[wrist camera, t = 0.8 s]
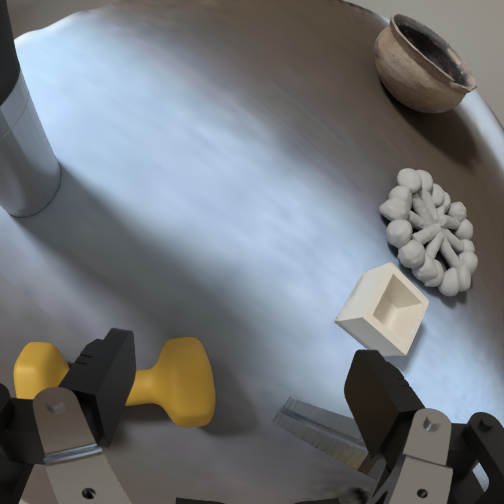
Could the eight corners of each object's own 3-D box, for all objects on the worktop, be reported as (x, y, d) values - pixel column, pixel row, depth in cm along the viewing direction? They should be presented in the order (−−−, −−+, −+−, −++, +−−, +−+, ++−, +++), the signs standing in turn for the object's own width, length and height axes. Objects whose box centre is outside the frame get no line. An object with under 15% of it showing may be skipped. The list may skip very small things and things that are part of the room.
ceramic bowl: (398, 134, 52) (450, 89, 38) (337, 53, 54) (372, 3, 40) (447, 124, 60) (488, 91, 46) (396, 56, 62) (429, 20, 48)
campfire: (389, 309, 40) (419, 302, 35) (360, 171, 46) (382, 152, 40) (470, 292, 47) (494, 285, 42) (443, 186, 53) (464, 173, 47)
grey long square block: (272, 421, 32) (367, 475, 15) (290, 397, 33) (395, 430, 17) (295, 434, 32) (396, 488, 16) (311, 411, 34) (420, 447, 17)
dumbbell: (201, 335, 33) (213, 334, 25) (210, 416, 31) (226, 437, 23) (35, 340, 27) (3, 338, 20) (45, 419, 25) (17, 438, 18)
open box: (334, 321, 38) (362, 317, 32) (362, 272, 41) (390, 261, 35) (375, 355, 38) (405, 355, 32) (399, 307, 41) (429, 301, 35)
